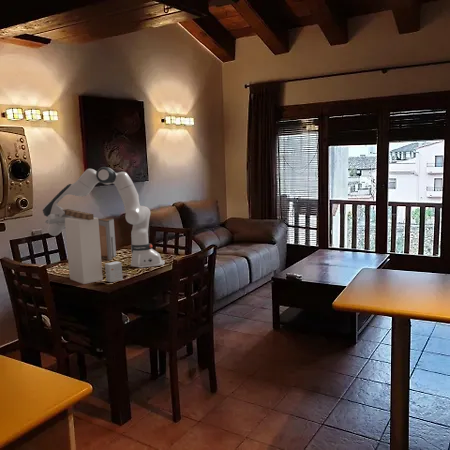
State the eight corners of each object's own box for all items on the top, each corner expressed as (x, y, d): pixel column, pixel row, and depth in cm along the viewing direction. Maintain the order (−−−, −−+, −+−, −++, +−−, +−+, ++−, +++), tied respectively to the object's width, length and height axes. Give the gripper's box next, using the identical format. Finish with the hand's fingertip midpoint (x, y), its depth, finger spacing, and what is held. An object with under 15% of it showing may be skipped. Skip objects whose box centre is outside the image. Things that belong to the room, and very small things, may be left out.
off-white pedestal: (69, 279, 283) (64, 218, 277) (88, 275, 291) (83, 215, 285) (84, 284, 270) (78, 220, 264) (102, 279, 278) (98, 217, 272)
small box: (118, 278, 280) (117, 261, 279) (122, 279, 276) (121, 262, 275) (106, 280, 275) (104, 263, 274) (110, 282, 271) (109, 264, 270)
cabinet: (98, 256, 347) (95, 218, 343) (110, 254, 352) (108, 217, 348) (109, 260, 330) (106, 221, 326) (122, 258, 336) (119, 219, 332)
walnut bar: (63, 214, 288) (63, 209, 287) (68, 213, 290) (67, 209, 289) (88, 220, 265) (88, 214, 265) (93, 219, 267) (93, 214, 267)
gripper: (42, 218, 289) (50, 208, 280) (74, 214, 303) (81, 205, 294) (45, 228, 288) (53, 218, 278) (77, 223, 302) (85, 214, 292)
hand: (68, 211), depth 286 cm, fingers closed on walnut bar, 3 cm apart
